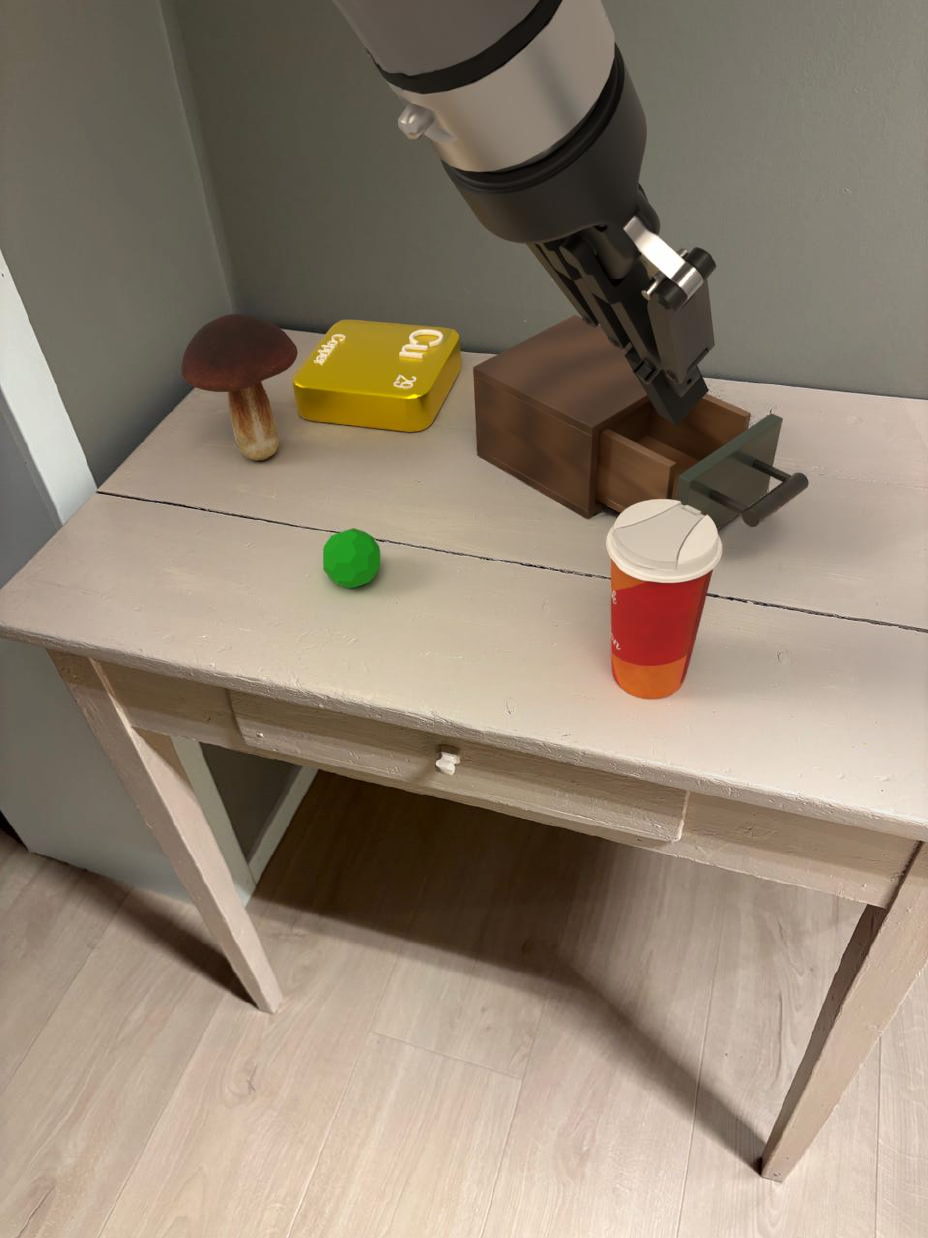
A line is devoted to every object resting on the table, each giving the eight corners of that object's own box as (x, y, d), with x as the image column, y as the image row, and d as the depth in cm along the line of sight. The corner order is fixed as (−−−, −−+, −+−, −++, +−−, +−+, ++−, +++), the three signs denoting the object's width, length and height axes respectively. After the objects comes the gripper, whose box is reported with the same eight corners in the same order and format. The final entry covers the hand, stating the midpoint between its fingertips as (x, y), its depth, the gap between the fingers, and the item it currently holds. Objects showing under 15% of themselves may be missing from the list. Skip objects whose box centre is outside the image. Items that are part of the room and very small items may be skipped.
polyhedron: (386, 594, 81) (379, 551, 78) (328, 602, 81) (319, 559, 77) (380, 556, 85) (374, 514, 81) (325, 564, 84) (316, 521, 81)
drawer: (815, 516, 84) (835, 440, 79) (728, 585, 78) (743, 508, 73) (650, 435, 95) (657, 363, 89) (562, 491, 89) (564, 417, 83)
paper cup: (639, 622, 77) (654, 480, 67) (719, 670, 73) (748, 526, 63) (575, 675, 73) (582, 532, 64) (656, 728, 69) (676, 585, 60)
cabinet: (683, 456, 93) (695, 365, 87) (587, 519, 87) (592, 427, 80) (572, 401, 102) (574, 314, 95) (476, 455, 95) (472, 366, 88)
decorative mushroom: (222, 499, 92) (182, 358, 82) (196, 443, 99) (156, 306, 89) (330, 468, 95) (304, 327, 85) (297, 415, 102) (270, 279, 92)
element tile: (342, 351, 112) (336, 312, 109) (466, 363, 108) (464, 323, 105) (292, 420, 102) (284, 379, 98) (427, 435, 98) (423, 394, 95)
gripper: (358, 117, 39) (565, 396, 59) (568, 247, 32) (721, 513, 52) (481, -33, 38) (649, 302, 58) (722, 69, 31) (818, 408, 51)
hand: (683, 401), depth 55 cm, fingers closed
